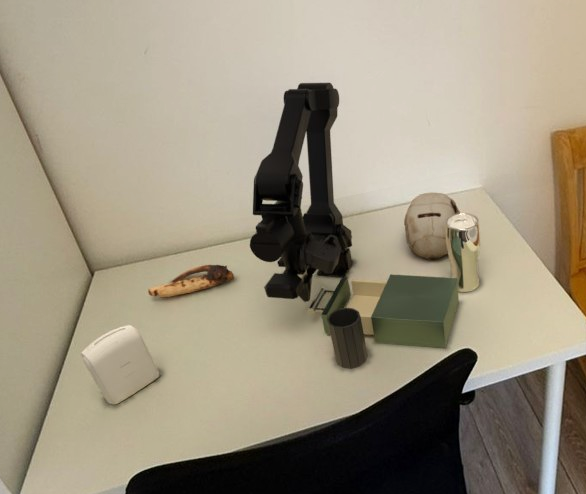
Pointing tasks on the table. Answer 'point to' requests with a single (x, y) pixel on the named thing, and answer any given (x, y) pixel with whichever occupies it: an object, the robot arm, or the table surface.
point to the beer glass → (463, 249)
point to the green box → (416, 311)
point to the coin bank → (429, 224)
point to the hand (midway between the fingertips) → (307, 300)
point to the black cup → (347, 337)
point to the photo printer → (120, 363)
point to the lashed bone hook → (193, 281)
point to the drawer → (361, 301)
